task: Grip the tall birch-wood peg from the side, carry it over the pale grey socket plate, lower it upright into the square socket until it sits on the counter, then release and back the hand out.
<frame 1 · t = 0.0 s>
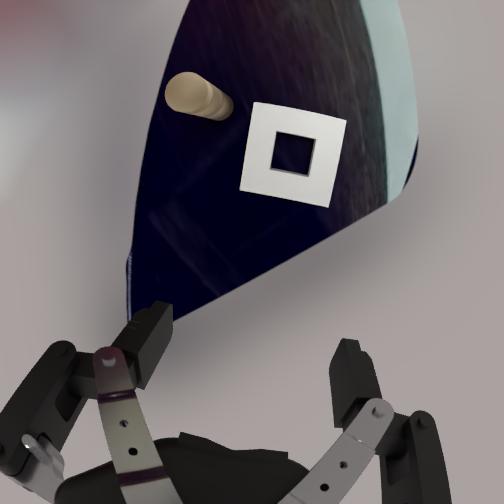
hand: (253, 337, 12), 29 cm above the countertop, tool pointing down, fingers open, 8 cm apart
socket plate: (292, 153, 36), on the countertop
peg: (219, 106, 35), on the countertop
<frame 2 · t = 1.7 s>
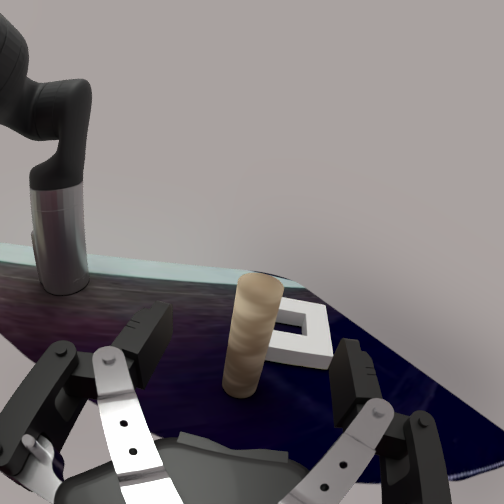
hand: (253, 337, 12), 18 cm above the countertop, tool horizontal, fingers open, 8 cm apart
socket plate: (285, 334, 39), on the countertop
peg: (239, 384, 30), on the countertop
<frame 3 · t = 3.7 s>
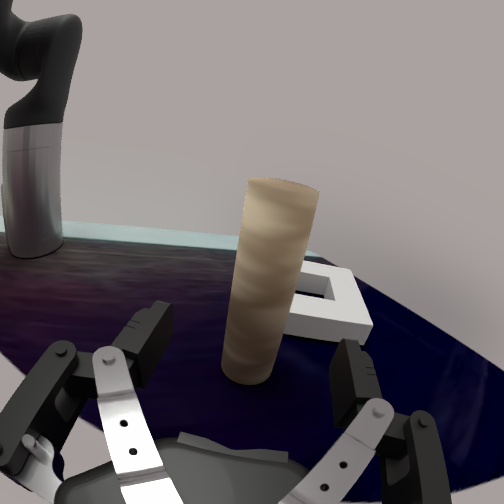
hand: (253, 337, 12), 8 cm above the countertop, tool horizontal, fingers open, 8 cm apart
socket plate: (303, 303, 31), on the countertop
peg: (246, 365, 21), on the countertop
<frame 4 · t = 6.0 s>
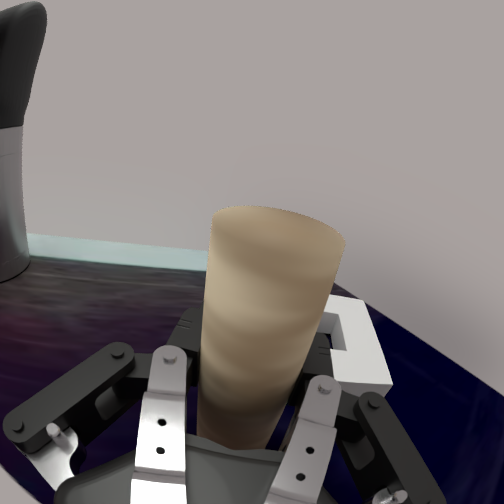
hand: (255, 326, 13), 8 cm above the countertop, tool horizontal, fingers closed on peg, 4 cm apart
socket plate: (306, 347, 24), on the countertop
peg: (229, 446, 14), on the countertop, touching gripper
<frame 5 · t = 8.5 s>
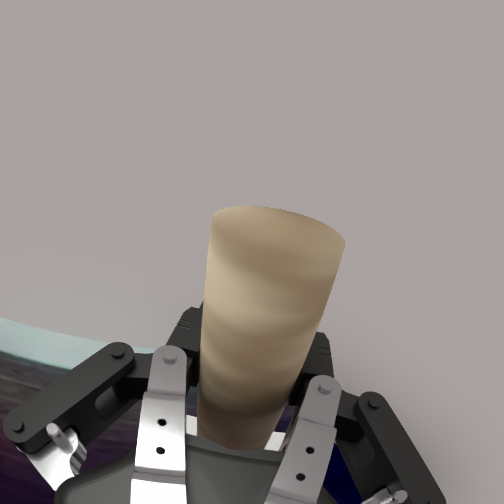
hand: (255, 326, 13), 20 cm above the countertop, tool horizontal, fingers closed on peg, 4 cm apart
socket plate: (222, 481, 20), on the countertop
peg: (229, 446, 14), point 12 cm above the countertop, touching gripper
when the fingers open (9 cm above the countertop, at t = 11.2 s): peg stays where it is, resting in socket plate.
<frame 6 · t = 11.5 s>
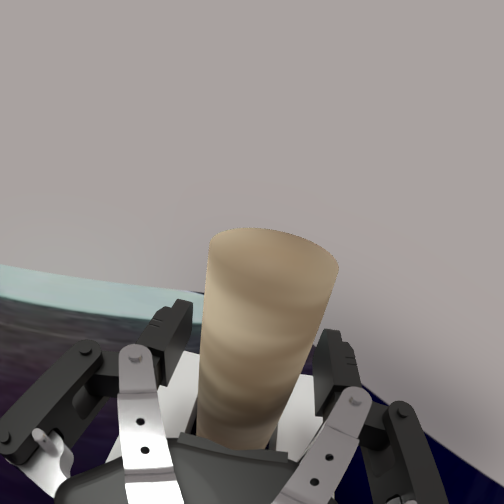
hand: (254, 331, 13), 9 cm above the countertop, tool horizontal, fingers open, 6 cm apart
socket plate: (227, 451, 14), on the countertop
peg: (227, 452, 14), resting in socket plate
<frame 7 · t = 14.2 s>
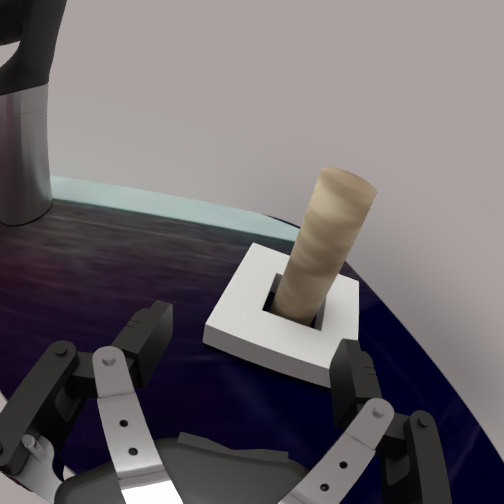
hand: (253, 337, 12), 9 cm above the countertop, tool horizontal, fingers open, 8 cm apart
socket plate: (288, 318, 25), on the countertop
peg: (288, 318, 25), resting in socket plate
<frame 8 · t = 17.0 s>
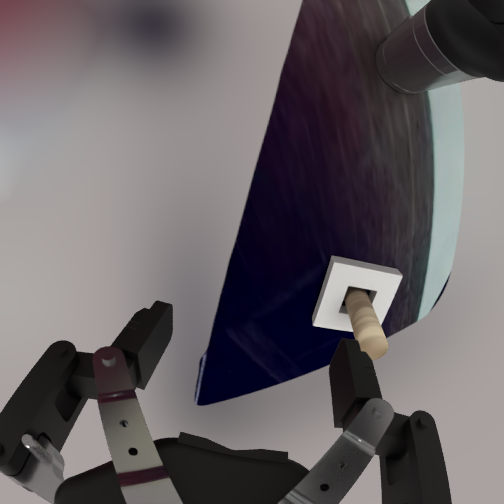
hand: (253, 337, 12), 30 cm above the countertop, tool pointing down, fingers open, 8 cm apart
socket plate: (354, 294, 44), on the countertop
peg: (354, 294, 44), resting in socket plate
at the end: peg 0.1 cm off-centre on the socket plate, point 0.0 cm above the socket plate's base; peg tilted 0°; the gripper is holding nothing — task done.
